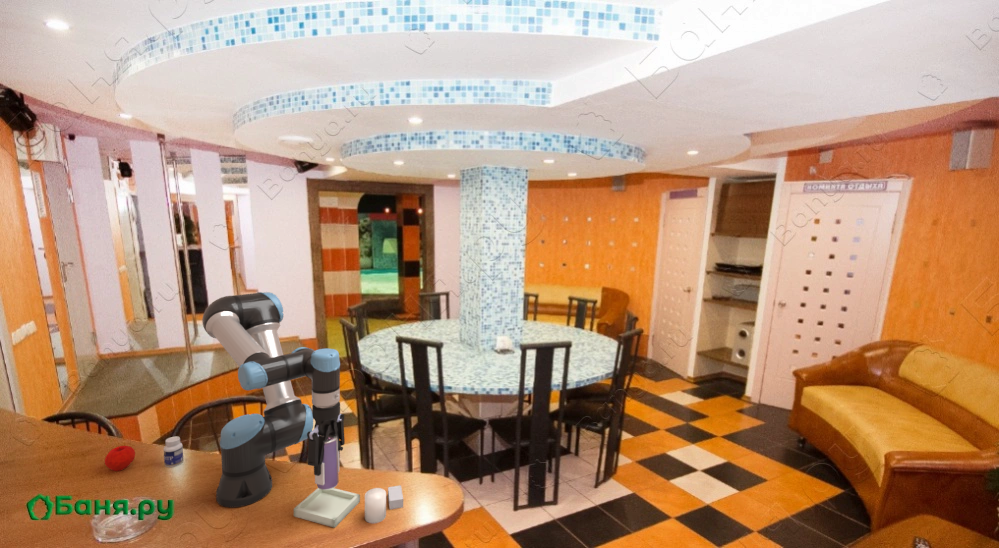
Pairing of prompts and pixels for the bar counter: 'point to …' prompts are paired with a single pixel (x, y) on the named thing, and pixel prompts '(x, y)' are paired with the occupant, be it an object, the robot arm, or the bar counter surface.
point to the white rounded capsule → (375, 505)
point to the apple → (120, 458)
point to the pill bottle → (173, 452)
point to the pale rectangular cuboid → (395, 497)
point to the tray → (327, 506)
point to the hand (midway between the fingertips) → (327, 477)
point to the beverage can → (330, 463)
